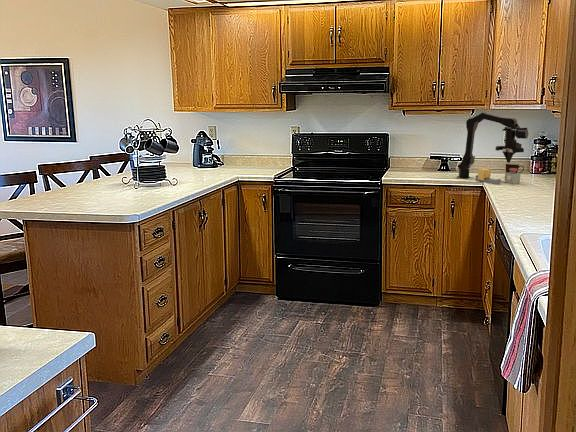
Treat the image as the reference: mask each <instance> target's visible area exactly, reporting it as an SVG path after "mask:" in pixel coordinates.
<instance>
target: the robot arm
mask: <svg viewBox="0 0 576 432" xmlns="http://www.w3.org/2000/svg"><path fill="white" fill-rule="evenodd" d="M484 120H487V121H491V122H494V123H499V124H501V125H503V126H504V128H503V129H502V131H503V132H505V139H503V142H504V145H496V146H495V151H499V152H500V151H502V154H503V156H504V158H505V160H506V163H511V160H512V158H513V156H514V155H516V153H524V152H525V148H524V147H522V143H521V142H520V143H519V142H517V139H521V140H522V139H524V140H525V139H526V140H527V139H528V138H529V129H528V127H520V125H519V123H518V120H517V119H516V118H514V117H502V116H499V115H494V114H491V113H487V112H481V113H479V114H477V115H476V116H474V117H470V118H468V119H467V120H466V122H465V125H466V127H465V128H466V130H467V134H466V142H465V151H464V155H463V156H462V159H461V162H460V163H459V164H458V165H457V168H458V176H456V178H460V179H471V177H470V168H471V166H473V165H474V163H475V158H476V156H475V155H474V156H473V151H474V149H473V148H474V144H475V143H474V142H475V135H476V134H475V133H476V130H477V129H478V126H479V123H481V122H482V121H484ZM516 138H517V139H516Z"/></svg>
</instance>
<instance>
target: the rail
mask: <svg viewBox="0 0 576 432" xmlns="http://www.w3.org/2000/svg"><path fill="white" fill-rule="evenodd" d="M475 181H476V182H477V181H478V182H482V183H486V184H487V183H488V184H492V185H501V181H502V179H501V178H497V179H496V178H491V177H490V178H485V179H484V180H480V179H478V174H477V175H475Z"/></svg>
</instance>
